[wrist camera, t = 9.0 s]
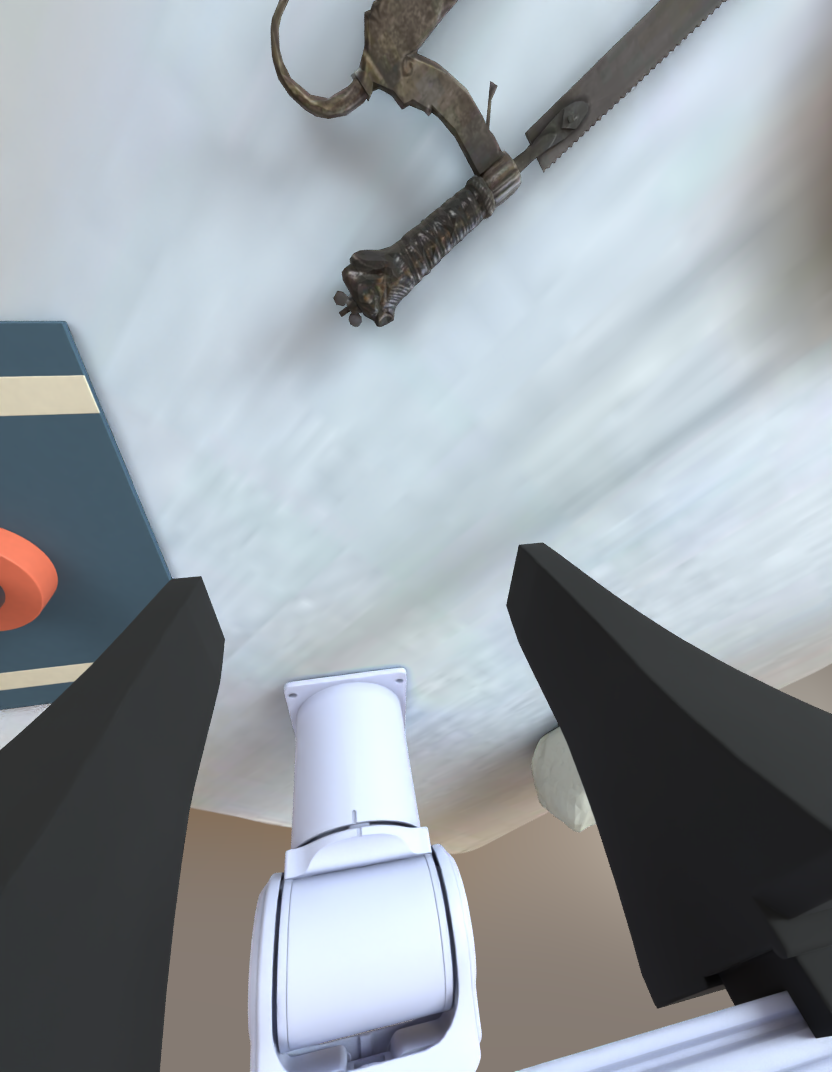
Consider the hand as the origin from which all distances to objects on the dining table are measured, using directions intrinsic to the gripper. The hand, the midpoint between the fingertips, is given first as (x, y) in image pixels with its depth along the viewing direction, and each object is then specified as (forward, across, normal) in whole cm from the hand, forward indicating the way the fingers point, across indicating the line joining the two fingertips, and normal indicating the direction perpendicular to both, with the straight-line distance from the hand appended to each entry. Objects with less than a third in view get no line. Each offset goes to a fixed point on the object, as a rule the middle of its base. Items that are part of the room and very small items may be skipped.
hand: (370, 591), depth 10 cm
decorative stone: (+11, -19, +30) cm, 38 cm away
